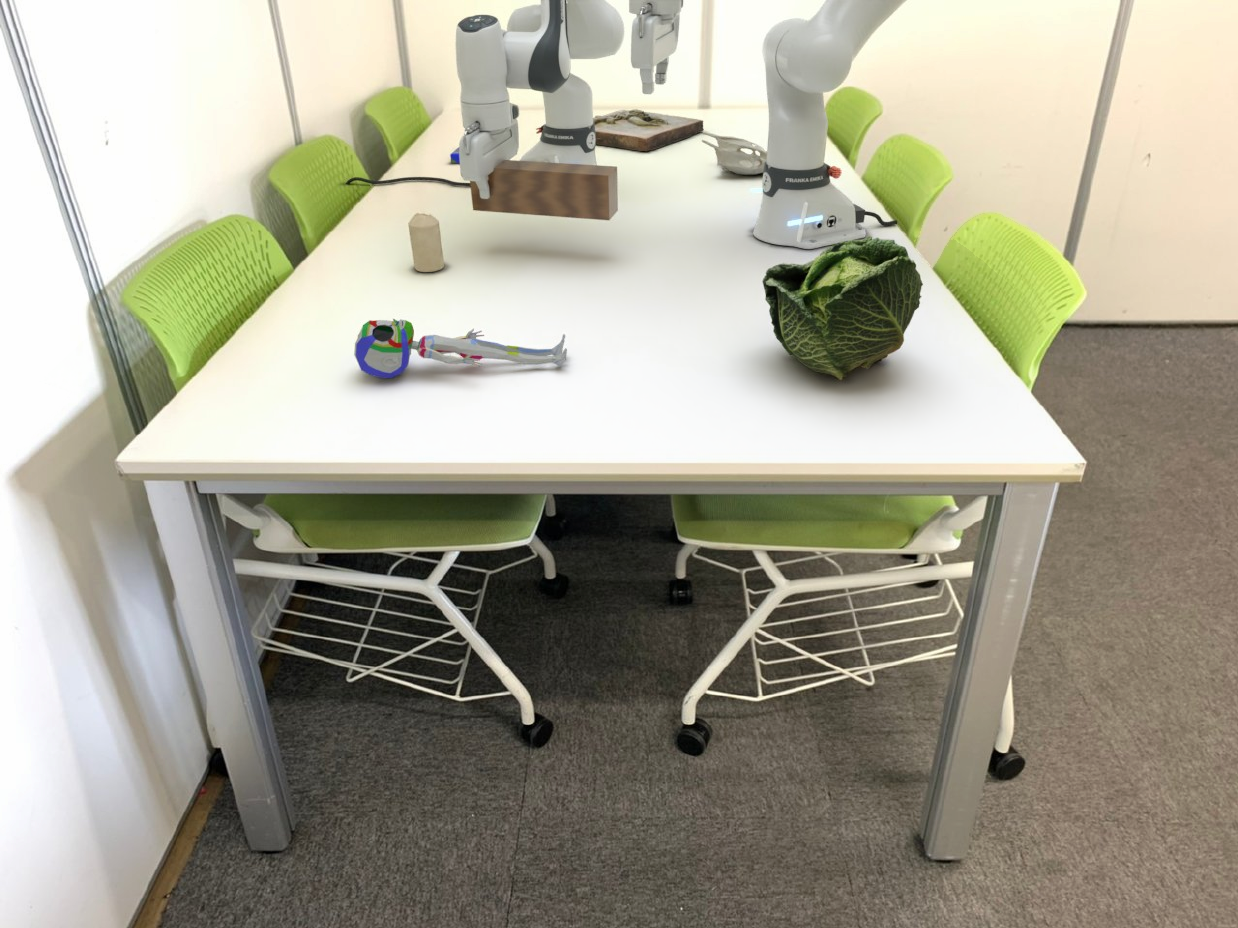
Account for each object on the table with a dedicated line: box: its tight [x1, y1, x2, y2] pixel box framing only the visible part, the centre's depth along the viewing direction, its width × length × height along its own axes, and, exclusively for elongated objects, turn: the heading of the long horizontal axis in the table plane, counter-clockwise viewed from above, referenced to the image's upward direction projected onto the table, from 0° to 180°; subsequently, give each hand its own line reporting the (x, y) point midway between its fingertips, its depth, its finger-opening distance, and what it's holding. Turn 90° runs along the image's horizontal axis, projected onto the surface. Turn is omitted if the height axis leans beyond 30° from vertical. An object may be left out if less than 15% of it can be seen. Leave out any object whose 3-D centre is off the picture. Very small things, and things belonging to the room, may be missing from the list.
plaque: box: [593, 108, 705, 152], centre depth 257 cm, size 30×7×30 cm
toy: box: [353, 318, 568, 379], centre depth 130 cm, size 10×8×30 cm
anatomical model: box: [701, 131, 767, 176], centre depth 221 cm, size 15×9×25 cm
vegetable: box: [762, 236, 924, 381], centre depth 127 cm, size 20×19×20 cm
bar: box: [469, 159, 619, 221], centre depth 168 cm, size 27×6×8 cm, turn 74°
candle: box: [407, 212, 445, 273], centre depth 166 cm, size 6×6×10 cm
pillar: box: [449, 146, 460, 164], centre depth 242 cm, size 2×2×20 cm
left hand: (493, 192), depth 171 cm, fingers closed on bar, 6 cm apart
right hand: (654, 88), depth 158 cm, fingers open, 8 cm apart
